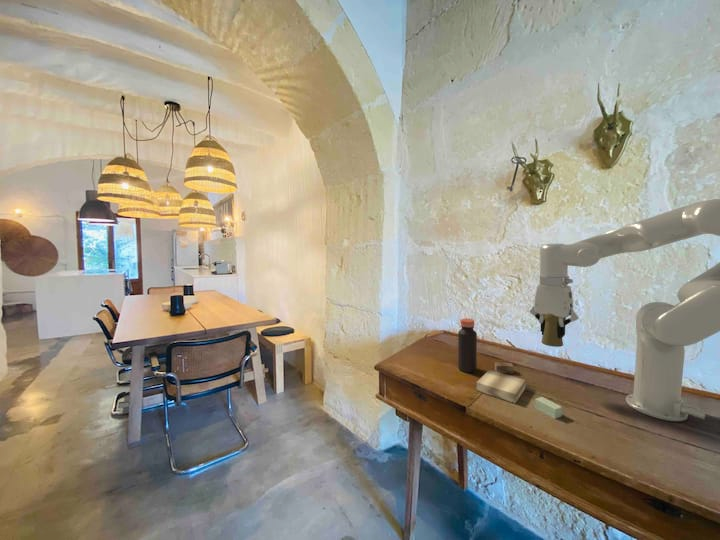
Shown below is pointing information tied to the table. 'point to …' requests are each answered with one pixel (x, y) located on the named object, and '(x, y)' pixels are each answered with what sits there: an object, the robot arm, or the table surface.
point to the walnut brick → (504, 367)
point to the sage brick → (548, 407)
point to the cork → (551, 331)
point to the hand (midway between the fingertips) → (552, 335)
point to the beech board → (501, 386)
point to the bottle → (467, 347)
